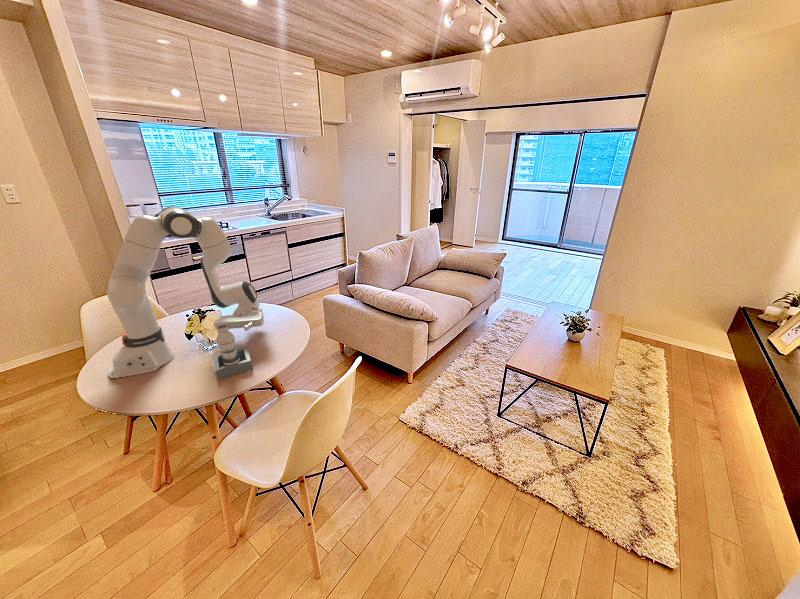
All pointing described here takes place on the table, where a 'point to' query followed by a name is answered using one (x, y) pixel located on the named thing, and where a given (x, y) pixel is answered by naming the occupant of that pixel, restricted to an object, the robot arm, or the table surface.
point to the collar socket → (233, 365)
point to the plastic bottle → (227, 345)
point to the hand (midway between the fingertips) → (234, 330)
